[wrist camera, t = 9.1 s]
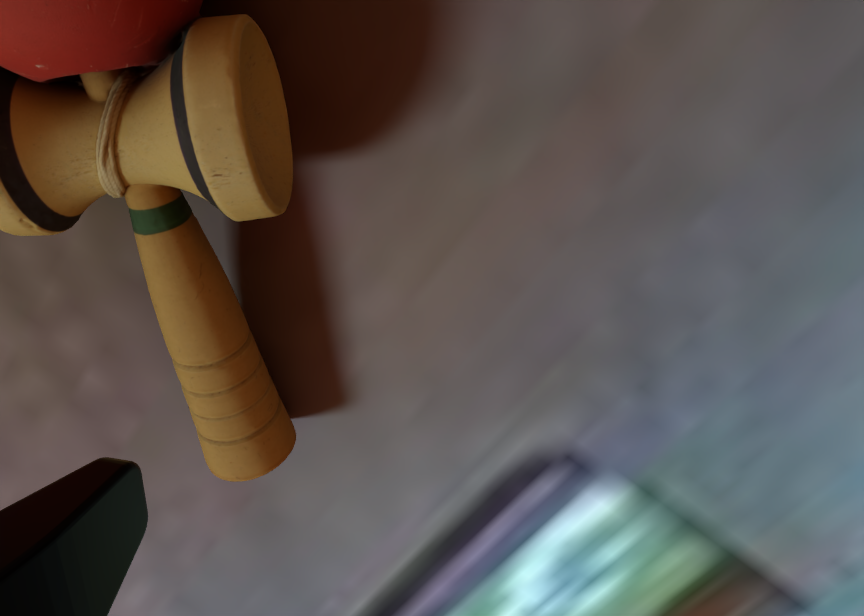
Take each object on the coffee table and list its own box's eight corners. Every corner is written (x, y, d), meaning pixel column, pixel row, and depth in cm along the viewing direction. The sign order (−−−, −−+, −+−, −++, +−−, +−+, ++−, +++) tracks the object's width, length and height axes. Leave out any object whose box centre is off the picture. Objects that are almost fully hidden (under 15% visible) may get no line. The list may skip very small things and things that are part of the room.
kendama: (402, 388, 25) (250, -268, 14) (330, 538, 20) (24, -288, 10) (215, 370, 27) (-26, -200, 17) (110, 499, 22) (-314, -187, 12)
